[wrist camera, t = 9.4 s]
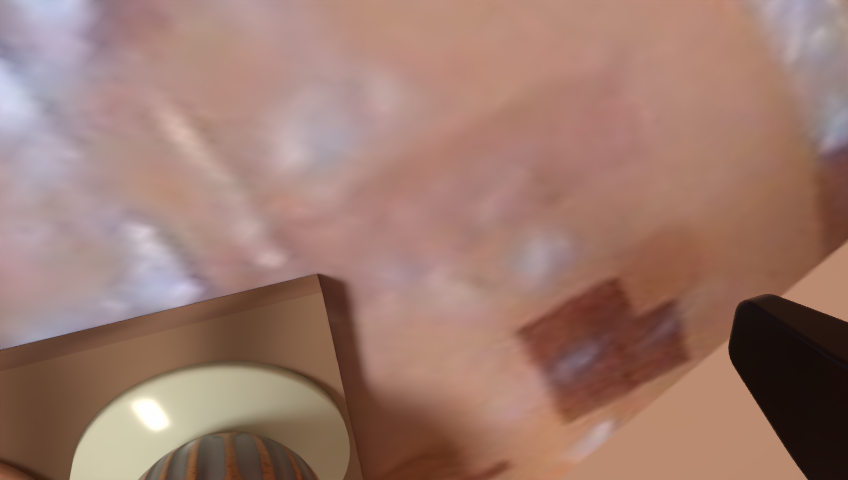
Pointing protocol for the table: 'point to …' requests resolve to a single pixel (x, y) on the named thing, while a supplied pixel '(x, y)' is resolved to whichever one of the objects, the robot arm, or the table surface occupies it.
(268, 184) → the table surface
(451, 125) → the table surface
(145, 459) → the cream disc
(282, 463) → the vase
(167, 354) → the board
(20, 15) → the table surface
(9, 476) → the terracotta disc
